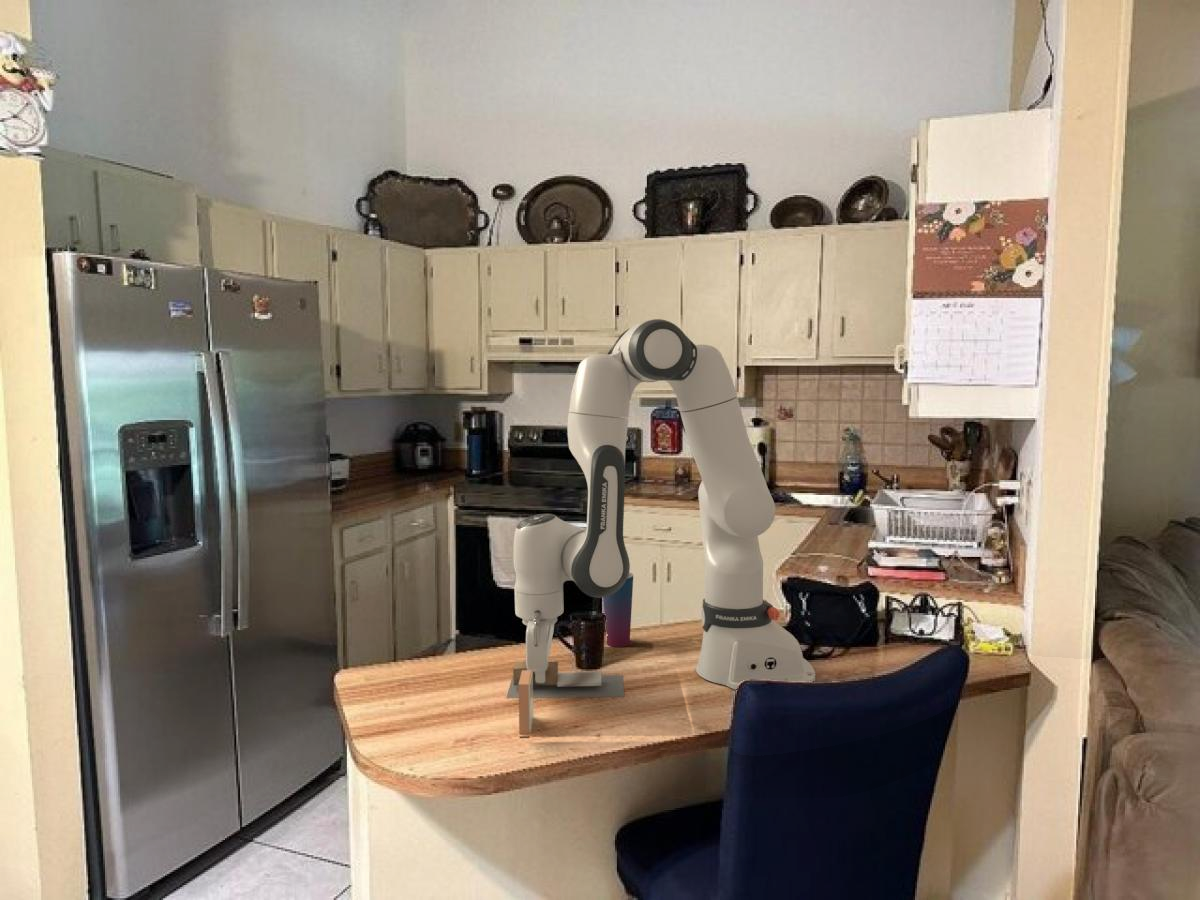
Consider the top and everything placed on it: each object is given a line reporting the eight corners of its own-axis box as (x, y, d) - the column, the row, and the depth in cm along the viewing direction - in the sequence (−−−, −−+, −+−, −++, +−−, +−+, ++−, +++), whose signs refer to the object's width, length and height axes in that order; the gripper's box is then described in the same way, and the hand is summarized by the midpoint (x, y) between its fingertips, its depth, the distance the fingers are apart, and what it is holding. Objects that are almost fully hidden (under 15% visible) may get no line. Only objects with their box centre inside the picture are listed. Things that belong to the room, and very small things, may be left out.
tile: (533, 721, 137) (532, 670, 136) (530, 738, 131) (529, 684, 130) (523, 721, 137) (522, 670, 136) (519, 738, 131) (518, 684, 130)
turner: (513, 687, 147) (512, 670, 146) (515, 677, 152) (515, 660, 151) (601, 685, 147) (601, 668, 146) (601, 675, 152) (600, 658, 151)
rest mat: (622, 679, 155) (622, 675, 154) (624, 700, 145) (624, 696, 144) (512, 680, 155) (512, 676, 154) (506, 702, 145) (506, 697, 145)
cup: (634, 638, 177) (634, 571, 176) (632, 649, 171) (632, 579, 169) (603, 637, 178) (603, 570, 176) (600, 648, 171) (599, 579, 170)
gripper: (553, 621, 137) (555, 699, 139) (559, 587, 158) (561, 656, 159) (516, 622, 137) (519, 700, 139) (526, 588, 158) (529, 657, 159)
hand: (541, 676), depth 149 cm, fingers closed on turner, 3 cm apart
